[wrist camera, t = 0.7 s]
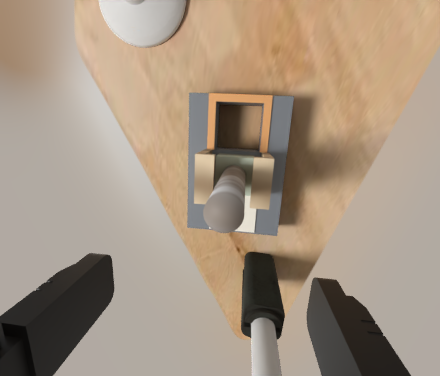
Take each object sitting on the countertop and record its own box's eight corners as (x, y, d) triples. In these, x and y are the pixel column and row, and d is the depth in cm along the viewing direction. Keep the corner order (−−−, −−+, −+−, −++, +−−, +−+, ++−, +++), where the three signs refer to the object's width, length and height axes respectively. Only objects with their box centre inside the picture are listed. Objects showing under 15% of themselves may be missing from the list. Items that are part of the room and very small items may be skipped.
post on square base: (219, 153, 33) (190, 177, 16) (254, 155, 33) (261, 183, 16) (217, 186, 35) (189, 242, 18) (251, 189, 34) (255, 248, 17)
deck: (195, 96, 36) (189, 92, 32) (288, 100, 34) (294, 96, 30) (193, 218, 41) (187, 228, 37) (274, 225, 39) (277, 236, 35)
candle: (270, 280, 42) (301, 484, 18) (242, 275, 42) (235, 469, 18) (274, 255, 41) (314, 439, 16) (245, 250, 41) (243, 424, 17)
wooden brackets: (205, 148, 33) (194, 153, 27) (268, 152, 32) (274, 158, 26) (204, 189, 35) (193, 203, 28) (264, 193, 34) (269, 209, 27)
